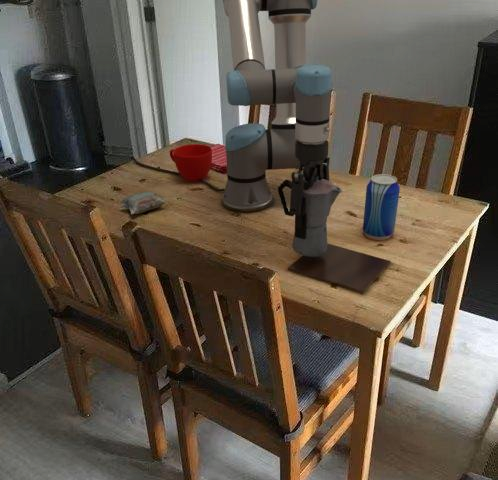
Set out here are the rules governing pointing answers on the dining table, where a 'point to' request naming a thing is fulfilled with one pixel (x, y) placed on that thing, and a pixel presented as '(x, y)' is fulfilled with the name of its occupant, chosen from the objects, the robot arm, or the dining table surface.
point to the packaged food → (142, 202)
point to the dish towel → (219, 158)
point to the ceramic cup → (192, 161)
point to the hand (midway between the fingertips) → (309, 230)
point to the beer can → (381, 207)
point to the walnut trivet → (342, 268)
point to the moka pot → (313, 215)
